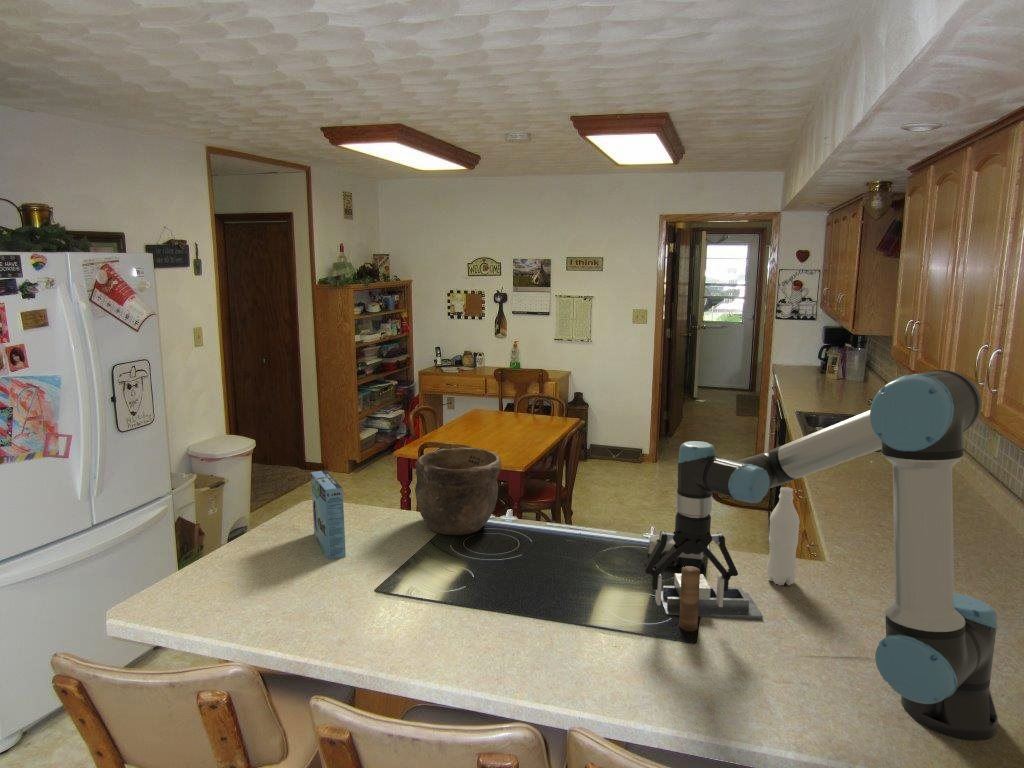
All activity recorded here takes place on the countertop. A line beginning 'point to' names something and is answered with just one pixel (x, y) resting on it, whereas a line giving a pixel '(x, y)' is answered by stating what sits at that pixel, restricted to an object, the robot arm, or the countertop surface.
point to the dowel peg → (689, 598)
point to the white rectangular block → (703, 587)
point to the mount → (715, 604)
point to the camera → (680, 560)
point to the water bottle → (783, 540)
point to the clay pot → (457, 489)
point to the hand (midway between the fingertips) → (688, 603)
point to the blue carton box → (328, 514)
